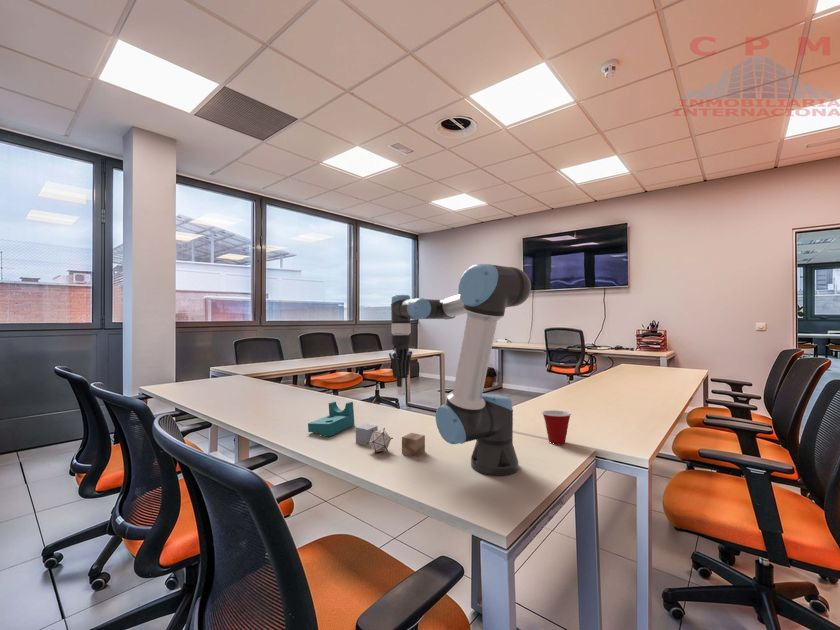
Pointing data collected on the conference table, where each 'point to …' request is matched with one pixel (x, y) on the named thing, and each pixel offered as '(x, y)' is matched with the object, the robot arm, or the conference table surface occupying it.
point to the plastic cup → (556, 425)
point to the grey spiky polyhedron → (379, 440)
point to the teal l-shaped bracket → (334, 420)
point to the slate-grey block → (365, 433)
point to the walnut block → (413, 444)
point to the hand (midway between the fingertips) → (401, 394)
